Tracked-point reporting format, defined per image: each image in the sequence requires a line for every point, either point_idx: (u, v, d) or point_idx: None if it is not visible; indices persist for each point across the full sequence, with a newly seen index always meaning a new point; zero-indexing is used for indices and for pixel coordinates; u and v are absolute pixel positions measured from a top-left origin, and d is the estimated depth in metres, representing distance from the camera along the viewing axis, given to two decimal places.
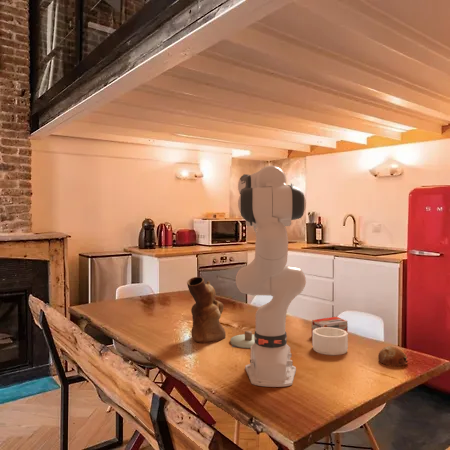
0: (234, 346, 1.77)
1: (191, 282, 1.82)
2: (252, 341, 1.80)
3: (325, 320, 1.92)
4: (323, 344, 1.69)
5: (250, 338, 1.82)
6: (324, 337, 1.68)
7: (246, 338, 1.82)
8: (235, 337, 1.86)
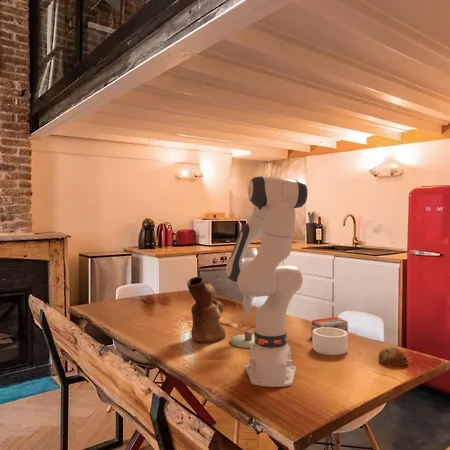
0: (234, 346, 1.77)
1: (191, 282, 1.82)
2: (252, 341, 1.80)
3: (325, 320, 1.91)
4: (323, 344, 1.69)
5: (250, 338, 1.82)
6: (324, 337, 1.68)
7: (246, 338, 1.82)
8: (235, 337, 1.86)
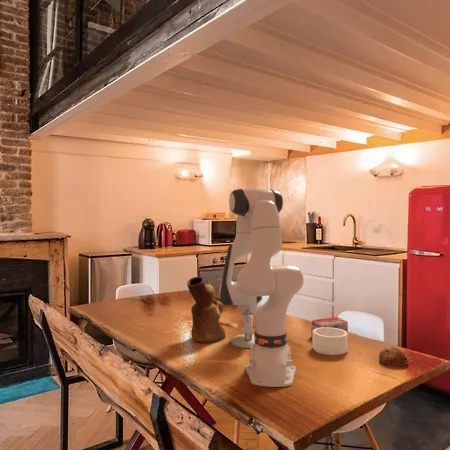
0: (234, 346, 1.77)
1: (191, 282, 1.82)
2: (252, 341, 1.80)
3: (325, 320, 1.91)
4: (323, 344, 1.69)
5: (250, 338, 1.82)
6: (324, 337, 1.68)
7: None
8: (235, 337, 1.86)
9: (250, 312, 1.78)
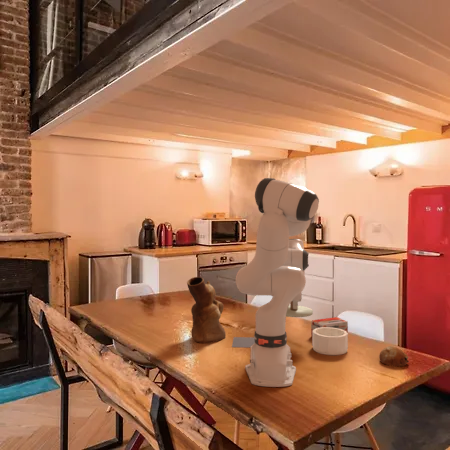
0: (234, 346, 1.77)
1: (191, 282, 1.82)
2: (299, 311, 1.75)
3: (325, 320, 1.91)
4: (323, 344, 1.69)
5: None
6: (324, 337, 1.68)
7: (292, 308, 1.77)
8: None
9: None
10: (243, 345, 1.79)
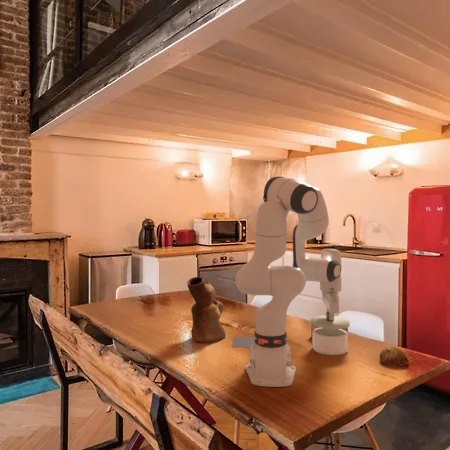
0: (234, 346, 1.77)
1: (191, 282, 1.82)
2: (335, 322, 1.71)
3: None
4: (323, 344, 1.69)
5: None
6: (324, 337, 1.68)
7: (328, 319, 1.73)
8: (315, 318, 1.77)
9: (335, 291, 1.69)
10: (243, 345, 1.79)
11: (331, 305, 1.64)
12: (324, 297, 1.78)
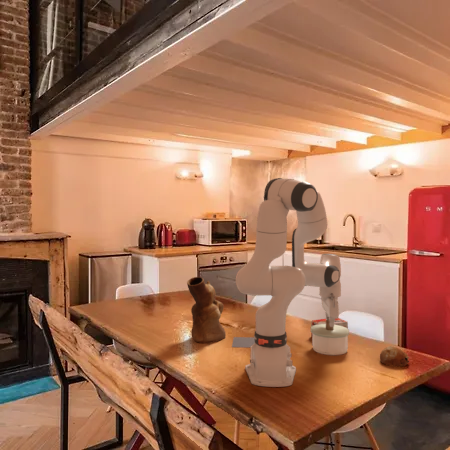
0: (234, 346, 1.77)
1: (191, 282, 1.82)
2: (335, 331, 1.71)
3: (325, 320, 1.91)
4: (323, 344, 1.69)
5: (332, 328, 1.73)
6: (324, 337, 1.68)
7: (328, 328, 1.73)
8: (314, 327, 1.77)
9: (334, 296, 1.69)
10: (243, 345, 1.79)
11: (331, 310, 1.64)
12: (323, 302, 1.79)
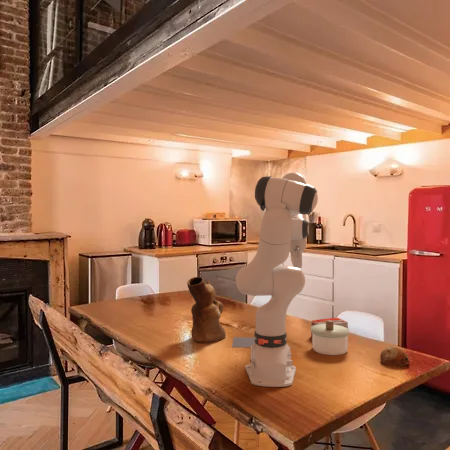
0: (234, 346, 1.77)
1: (191, 282, 1.82)
2: (335, 331, 1.71)
3: (325, 321, 1.91)
4: (323, 344, 1.69)
5: (332, 328, 1.73)
6: (324, 337, 1.68)
7: (328, 328, 1.73)
8: (314, 327, 1.77)
9: (299, 249, 1.83)
10: (243, 345, 1.79)
11: (295, 260, 1.78)
12: None
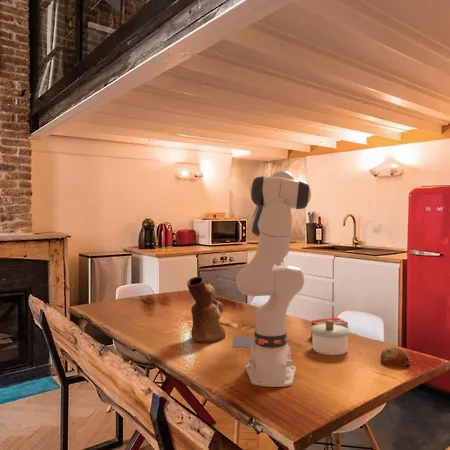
0: (234, 346, 1.77)
1: (191, 282, 1.82)
2: (335, 331, 1.71)
3: (325, 321, 1.90)
4: (323, 344, 1.69)
5: (332, 328, 1.73)
6: (324, 337, 1.68)
7: (328, 328, 1.73)
8: (314, 327, 1.77)
9: None
10: (243, 345, 1.79)
11: None
12: None
